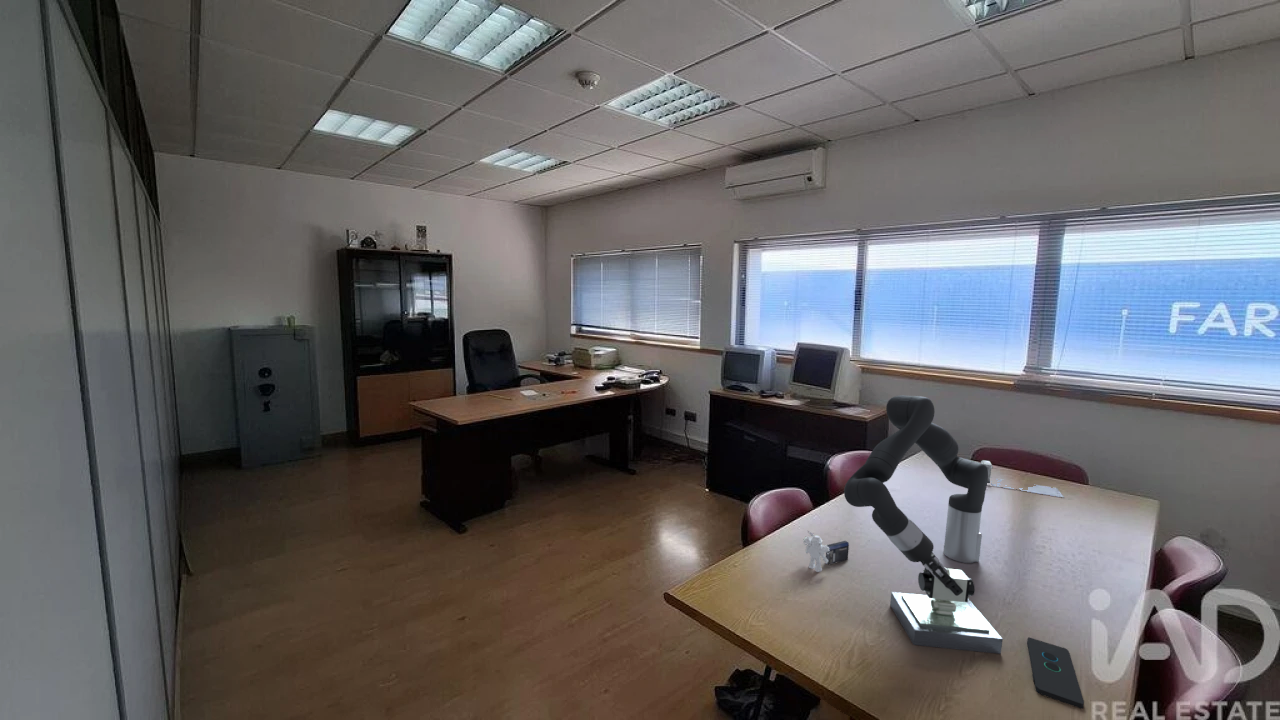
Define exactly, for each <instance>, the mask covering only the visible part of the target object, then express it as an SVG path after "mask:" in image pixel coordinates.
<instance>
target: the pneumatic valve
mask: <svg viewBox="0 0 1280 720" xmlns="http://www.w3.org/2000/svg"><path fill="white" fill-rule="evenodd" d="M944 567H945V566H944ZM945 568H946V569H947V571H948V572H947V573H948V574H949V575H950V576H951V578H953V580H955V582H956V583H957V584H958V586H959V587H960V588H961V589H962V590H963V592H962V593H961V594H960V595H958V596H956V595H955V594H954V593H953V592H952V591H951V590H950V589H948V588H946V587H945V585H944V584H943V583H942V582H941V581H940V580H939V579H937V578H935V576H934V575H933V574H932V573H931V572H930V571H929V570H927V569H926V568H925V567H924V569H923V571H922V572H921V571H920V572H919V573H918V575H917V576H918V577H917V583H918V587H919V589H920V590H921V592H922V591H923V592H925V593H926V594H925V595H928V597H929V598H931V599H932V600H931V607H932V609H934V610H936V613H938V614H941V615H949V616H952V615H953V612H955V611H956V604H955V603H954V602H953V601H958V602H968V599H969V600H970V597H973V596H974V595H975V591H976V589H975V583H974V581H973V579H972V578H971V577H969V576H968V575H966V573H965V572H964V571H963V570H962V569H957V568H956V569H954V568H947V567H945Z"/></svg>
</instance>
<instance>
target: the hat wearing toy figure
mask: <svg viewBox="0 0 1280 720" xmlns="http://www.w3.org/2000/svg"><path fill="white" fill-rule="evenodd" d="M807 533H808V535H810V536H805V538H803V544H804V546H805V548H806V549H805V553H806V554H809V555H810V561H809V563H808V568H809V569H810V570H814V571H815V572H817V573H820V572H822V571H823V567H822V561H823V562H824V563H825V564H827V563H828V559H827V558H826V554H825V553H826V552H829V551H830V550H829V549H830V548H829V547H827V545H829V544H825V545H824V544H823V539H822V538H821V536H820V535H814V534H815V533H814V532H812V531H810V530H807ZM829 553H830V552H829ZM829 553H827V554H829ZM821 558H822V561H821ZM815 563H816V564H815Z"/></svg>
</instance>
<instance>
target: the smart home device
mask: <svg viewBox="0 0 1280 720" xmlns="http://www.w3.org/2000/svg"><path fill="white" fill-rule="evenodd" d="M1026 644H1027V650H1028V656H1029V660H1030V661H1029V662H1030V666H1031V672H1032V675H1031V677H1032V681H1033V683H1034V689H1035V692H1036V693H1037V694H1039V695H1041V696H1044V697H1047V698H1049V699H1053V700H1056V701H1059V702H1061V703H1065V704H1067V705H1070V706H1072V707H1075V708H1078V709H1081V710H1083V709H1084V705H1085V700H1084V697H1083V693H1082V690H1081V687H1080V684H1079V683H1080V682H1079V681H1078V677H1077V674H1076V670H1075V667H1074V664H1073V663H1074V662H1073V660H1072V657H1071V653H1070V651H1069V650H1068V648H1065V647H1063V646H1059V645H1056V644H1052V643H1049V642H1046V641H1042V640H1039V639H1037V638H1032V637H1027V640H1026Z"/></svg>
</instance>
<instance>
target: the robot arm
mask: <svg viewBox="0 0 1280 720" xmlns="http://www.w3.org/2000/svg"><path fill="white" fill-rule="evenodd" d="M885 407H886V408H885V410H886V414H887V418H888V420H889V421H890V423H891V424H892V425H893V426H894V427H895V428H897V429H898V430H897V431H896V432H894V433H892V434H891V435H889V436H888V437H886V438H884V439H883V440H881V441H880V442H878V444H876V446H874V448H873V449H872V451H871V453H870V454H869V456H868V458H867V459H866V461H865V463H864V464H863V465H862V466H860V467H859V468H858V469H857V470H856V472H854V473H853V474H852V475H851V477H849V479H848V480H847V481H846V483H845V485H844V489H843V495H844V499H845V501H847V503H848V504H849V505H851V506H853V507H855V508H865V507H866V508H867V507H872V508H873V510H872V513H871V517H872V518H871V519H872V521H873V522H874V523H875V525H876V526H877V527H878V528H879V529H880V530H881V531H882V532H883V533H884V534H885V535H886V536H887V538H888V539H889V541H891V543H892V544H893V545H894V546H895V547H896V548H897V549H898V550H899V552H901V554H902V555H903V556H905V558H906V559H907V560H909V561H910V562H913V563H919V562H920V563H921V565H922V566H923V567H924V569H925V568H926V569H927V570H929V571H930V572H931V573H932V574H933V575H934V576H935V578H937V579H939V580H940V581H941V582H942V583H943V584H944V585H945V587H946V588H948V589H950V590H951V591H952V592H953V593H954V594H955V595H956V596H958V595H960V594H961V593H962V592H963V590H962V589H961V588H960V587H959V586H958V584H957V583H956V582H955V580H953V578H951V576H950V575H949V574H948V573H947V572H948V571H947V569H946V568H947V567H946V568H945V565H943V564H942V563H941V561H940V559H939V558H938V557H937V556H936V554H934V552H933V551H934V542H933V541H932V540H931V539H930V538H929V537H928V536H927V535H926V534H925V532H923V530H921V528H920V527H919V526H917V524H916V523H915V522H914V521H913V520H912V519H910V518H908V517H907V515H906V514H905V513H904V512H903V511H902V510H901V509H900V507H898V506H897V504H896V502H895V500H894V498H893V496H892V495H891V492H890V491H889V489H888V488H887V486H886V484H885V483H887V482H888V481H890V479H891V478H892V476H893V475H894V473H895V471H896V469H897V467H898V466H899V465H900V462H901V461H902V459H903V458H904V456H905V455H906V454H907V452H908V451H909V450H910V449H911V448H912V447H913V446H914V444H916V446H918V447H919V448H920V449H921V450H922V452H923V453H924V454H925V455H926V456H927V457H928V458H930V459H931V460H932V462H933V463H935V465H936V467H938V468H939V469H940V472H942V473H943V476H944V477H945V479H946V480H947V481H948V482H950V483H951V484H953V485H956V486H958V487H962V488H965V489H967V492H966V493H955V494H951V495H950V496H949V498H948V503H947V517H946V525H945V533H944V545H943V554H944V555H945V556H946V557H947V558H949V559H951V560H954V561H955V562H959V563H965V564H972V563H976V562H977V563H979V561H980V556H981V548H982V547H981V545H982V537H983V534H982V533H981V532H980V529H981V527H980V526H981V519H982V511H983V510H982V509H983V505H984V502H985V496H986V490H987V487H988V486H987V481H988V469H987V467H986V465H984V464H982V463H981V462H979V461H974V460H972V459H971V460H970V459H968V458H964V457H961V456H958V453H959V444H958V442H957V441H956V439H955V438H954V436H953V435H951V434H950V432H949V431H948V430H947V429H945V428H944V427H942V426H940V425H938V424H936V423H933V421H934V417H935V406H934V403H933V401H932V400H931V399H930V398H929V397H926V396H923V395H922V396H920V395H896V396H892V397H891V398H890V399H888V401H887V403H886V406H885Z"/></svg>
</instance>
